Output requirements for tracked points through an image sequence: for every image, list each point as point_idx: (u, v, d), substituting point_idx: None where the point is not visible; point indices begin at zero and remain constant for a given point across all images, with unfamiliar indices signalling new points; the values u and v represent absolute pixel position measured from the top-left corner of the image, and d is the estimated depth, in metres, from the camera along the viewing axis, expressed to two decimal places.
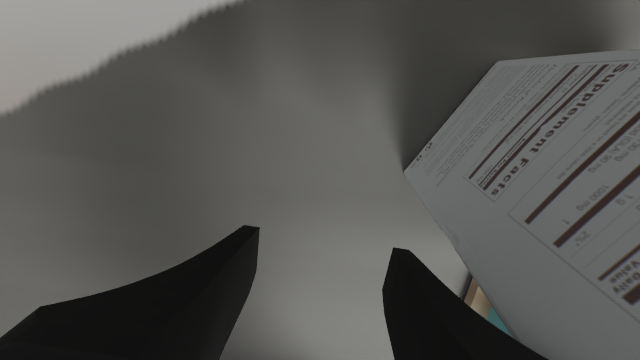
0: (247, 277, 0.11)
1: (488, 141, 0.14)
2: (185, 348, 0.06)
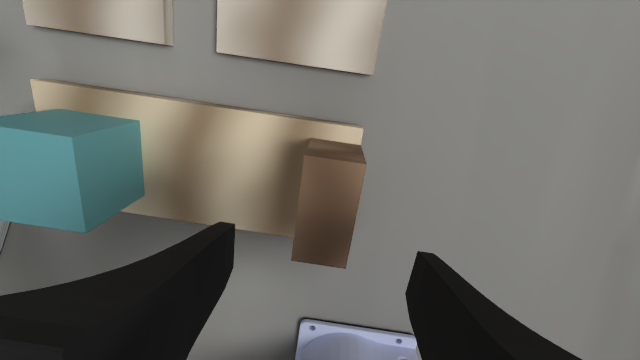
0: (221, 273, 0.11)
1: None
2: (140, 341, 0.06)
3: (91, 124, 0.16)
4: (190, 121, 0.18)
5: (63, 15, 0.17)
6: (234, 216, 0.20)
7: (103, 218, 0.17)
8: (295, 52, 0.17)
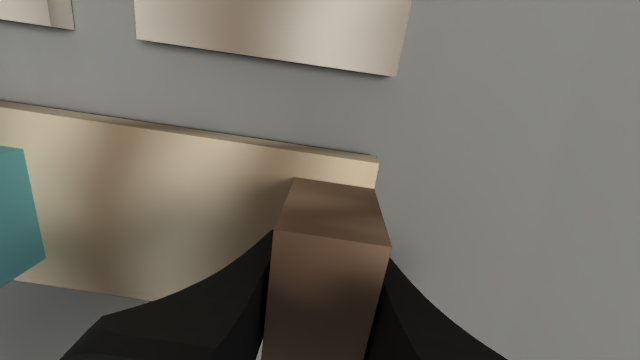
0: None
1: None
2: (236, 356, 0.06)
3: None
4: (102, 150, 0.11)
5: None
6: None
7: None
8: (266, 39, 0.10)
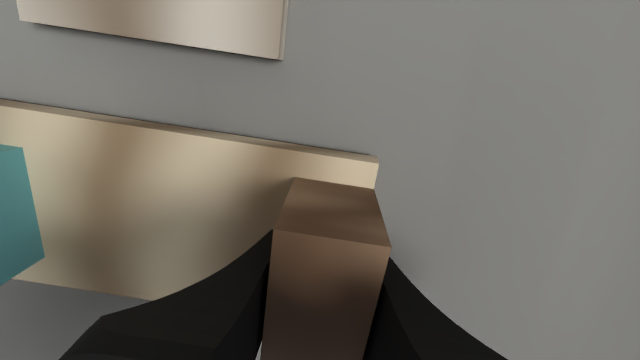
0: None
1: None
2: (236, 356, 0.06)
3: None
4: (102, 149, 0.11)
5: None
6: (180, 289, 0.13)
7: None
8: (147, 20, 0.10)
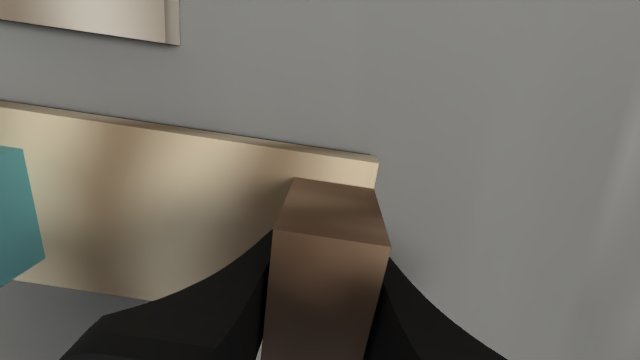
0: None
1: None
2: (236, 356, 0.06)
3: None
4: (102, 150, 0.11)
5: None
6: (181, 289, 0.13)
7: None
8: (33, 5, 0.10)
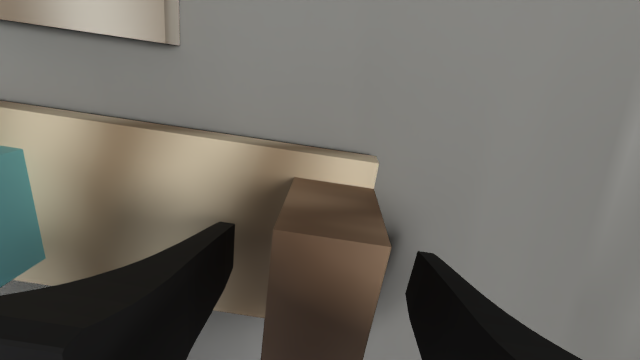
0: (221, 273, 0.11)
1: None
2: (140, 341, 0.06)
3: None
4: (102, 150, 0.11)
5: None
6: None
7: None
8: (32, 5, 0.10)
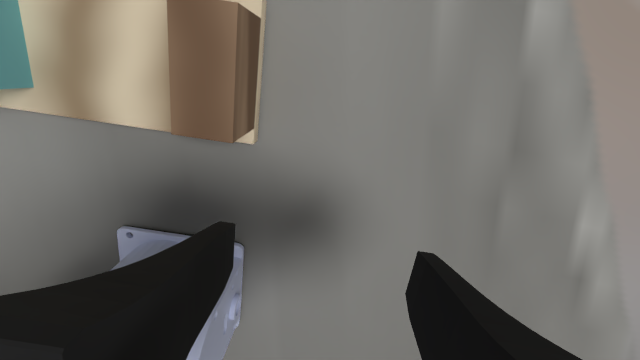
0: (221, 273, 0.11)
1: None
2: (140, 341, 0.06)
3: None
4: None
5: None
6: (133, 112, 0.18)
7: None
8: None
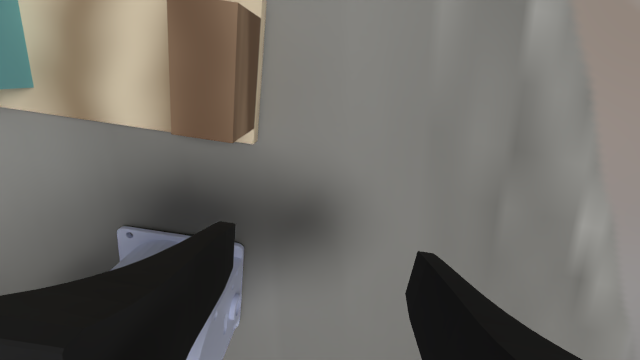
0: (221, 273, 0.11)
1: None
2: (140, 341, 0.06)
3: None
4: None
5: None
6: (133, 112, 0.18)
7: None
8: None
